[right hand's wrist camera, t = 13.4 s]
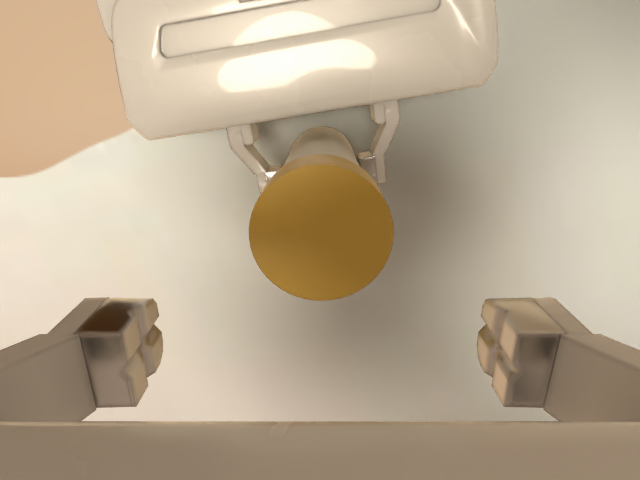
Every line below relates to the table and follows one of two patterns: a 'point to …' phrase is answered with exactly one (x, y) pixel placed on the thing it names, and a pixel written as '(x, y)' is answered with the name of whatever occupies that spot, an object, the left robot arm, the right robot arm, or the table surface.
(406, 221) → the table surface
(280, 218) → the lid
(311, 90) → the left robot arm
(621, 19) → the table surface
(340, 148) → the jar
